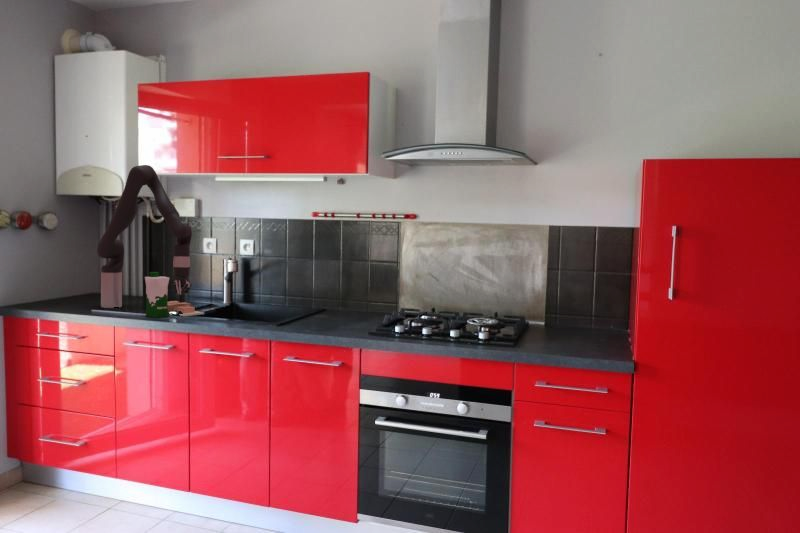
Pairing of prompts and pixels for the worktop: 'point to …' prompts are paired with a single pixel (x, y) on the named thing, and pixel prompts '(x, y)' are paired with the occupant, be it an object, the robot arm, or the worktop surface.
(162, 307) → the milk carton
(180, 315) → the mat
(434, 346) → the worktop surface
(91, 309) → the worktop surface
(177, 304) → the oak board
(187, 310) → the tile
